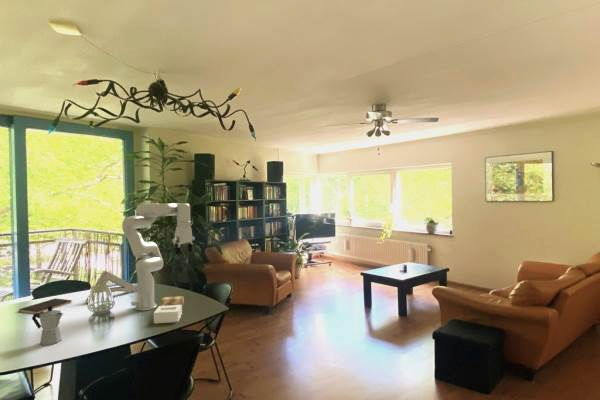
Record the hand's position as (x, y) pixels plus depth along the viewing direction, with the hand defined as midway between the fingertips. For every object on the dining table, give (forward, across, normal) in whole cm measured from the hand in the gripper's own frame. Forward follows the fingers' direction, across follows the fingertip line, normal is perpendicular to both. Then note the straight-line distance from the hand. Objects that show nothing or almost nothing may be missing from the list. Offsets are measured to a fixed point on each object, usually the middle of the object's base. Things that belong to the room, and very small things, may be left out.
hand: (184, 252), depth 208 cm
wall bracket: (+38, -8, -74) cm, 84 cm away
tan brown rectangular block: (+37, -1, -11) cm, 39 cm away
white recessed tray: (+37, +9, -4) cm, 39 cm away
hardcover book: (+38, +26, -94) cm, 104 cm away
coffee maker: (+38, +58, -33) cm, 76 cm away
